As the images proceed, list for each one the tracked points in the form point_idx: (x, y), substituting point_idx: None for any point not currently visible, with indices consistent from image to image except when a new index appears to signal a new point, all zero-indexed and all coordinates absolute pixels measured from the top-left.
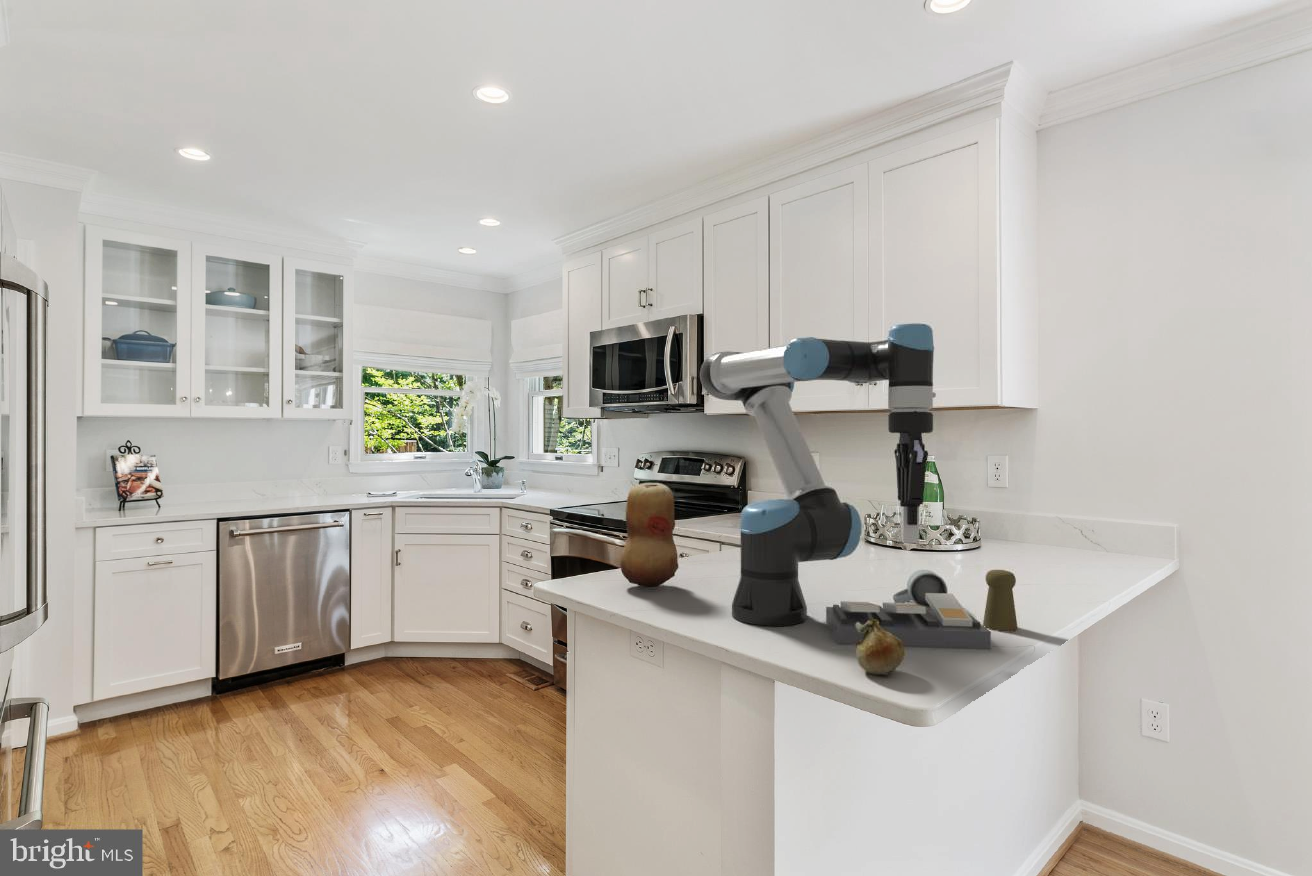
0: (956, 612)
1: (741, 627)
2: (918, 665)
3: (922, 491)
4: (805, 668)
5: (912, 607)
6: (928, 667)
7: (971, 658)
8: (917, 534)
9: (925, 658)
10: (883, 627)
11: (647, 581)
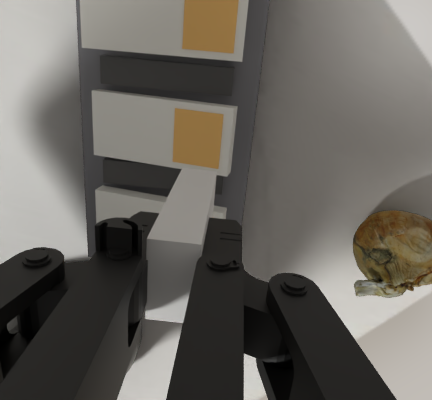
0: (208, 9)
1: (148, 371)
2: (358, 159)
3: (355, 354)
4: (351, 327)
5: (231, 139)
6: (371, 145)
7: (330, 35)
8: (213, 189)
9: (322, 131)
10: (238, 192)
11: None
